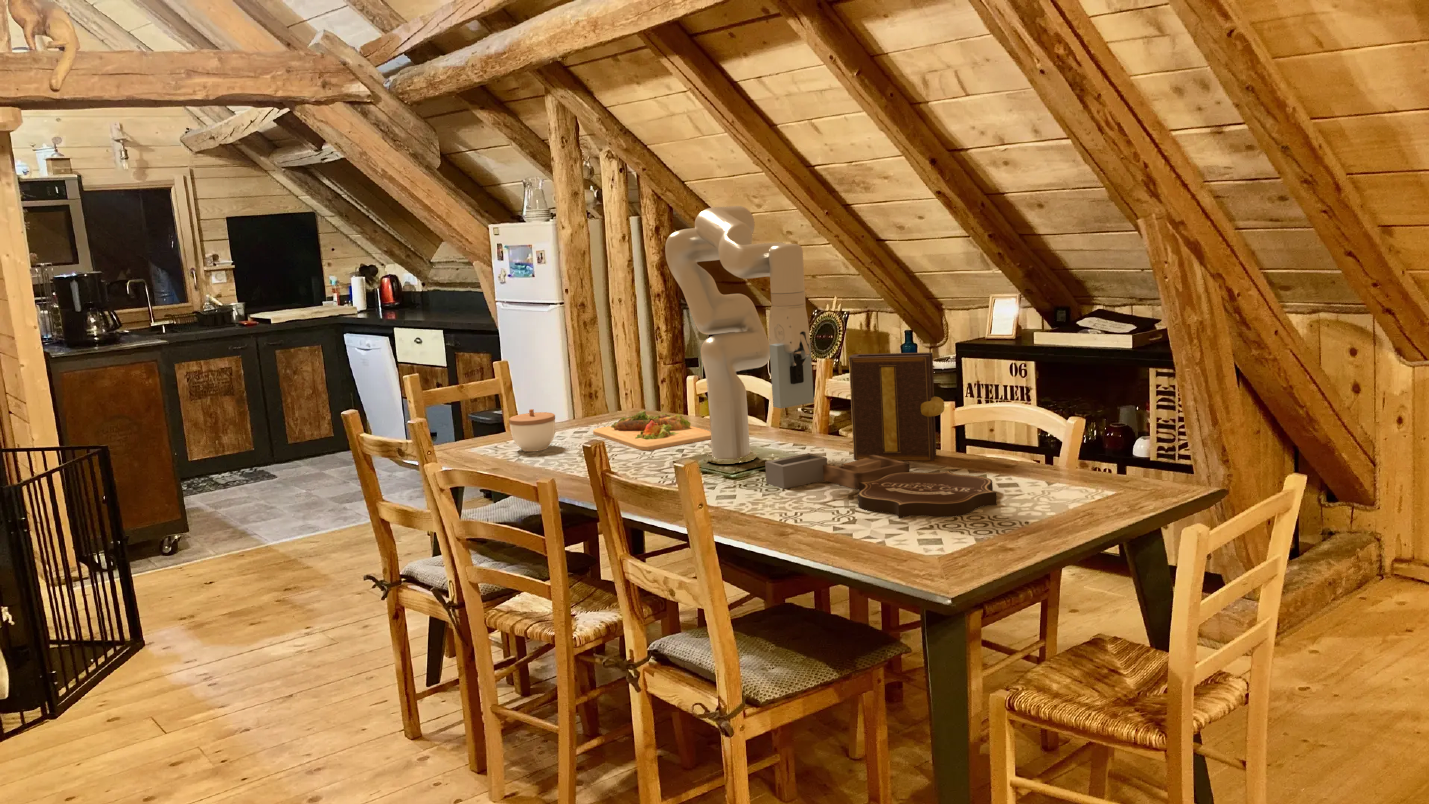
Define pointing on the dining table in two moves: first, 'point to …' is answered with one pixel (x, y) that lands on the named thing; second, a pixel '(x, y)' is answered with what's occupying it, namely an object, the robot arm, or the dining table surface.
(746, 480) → the dining table surface
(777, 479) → the holder
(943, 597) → the dining table surface
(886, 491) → the decorative plaque
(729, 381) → the robot arm
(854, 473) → the square wooden tray
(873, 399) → the book
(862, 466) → the offcut top
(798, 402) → the panel
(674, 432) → the cutting board
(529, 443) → the lidded bowl
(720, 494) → the dining table surface
